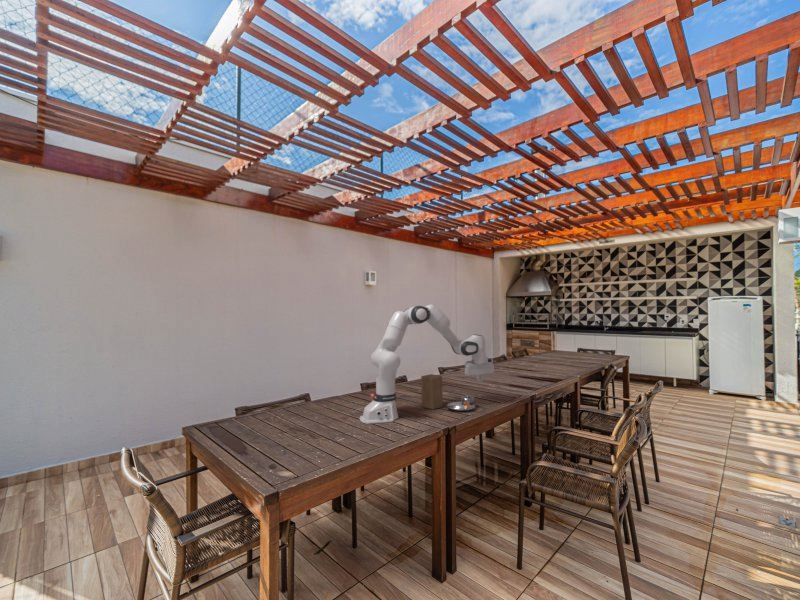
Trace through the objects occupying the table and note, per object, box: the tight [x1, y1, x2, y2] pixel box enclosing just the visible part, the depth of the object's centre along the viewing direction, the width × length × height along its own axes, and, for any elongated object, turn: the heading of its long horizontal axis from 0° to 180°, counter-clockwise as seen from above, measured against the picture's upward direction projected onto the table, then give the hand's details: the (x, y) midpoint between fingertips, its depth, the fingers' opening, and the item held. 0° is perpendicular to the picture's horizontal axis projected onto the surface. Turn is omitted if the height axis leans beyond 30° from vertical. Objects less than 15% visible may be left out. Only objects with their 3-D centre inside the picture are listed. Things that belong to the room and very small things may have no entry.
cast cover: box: [460, 394, 475, 405], centre depth 225 cm, size 8×8×5 cm
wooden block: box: [420, 373, 444, 411], centre depth 230 cm, size 10×10×20 cm
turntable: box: [446, 401, 476, 411], centre depth 224 cm, size 17×17×6 cm
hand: (479, 381), depth 229 cm, fingers closed
